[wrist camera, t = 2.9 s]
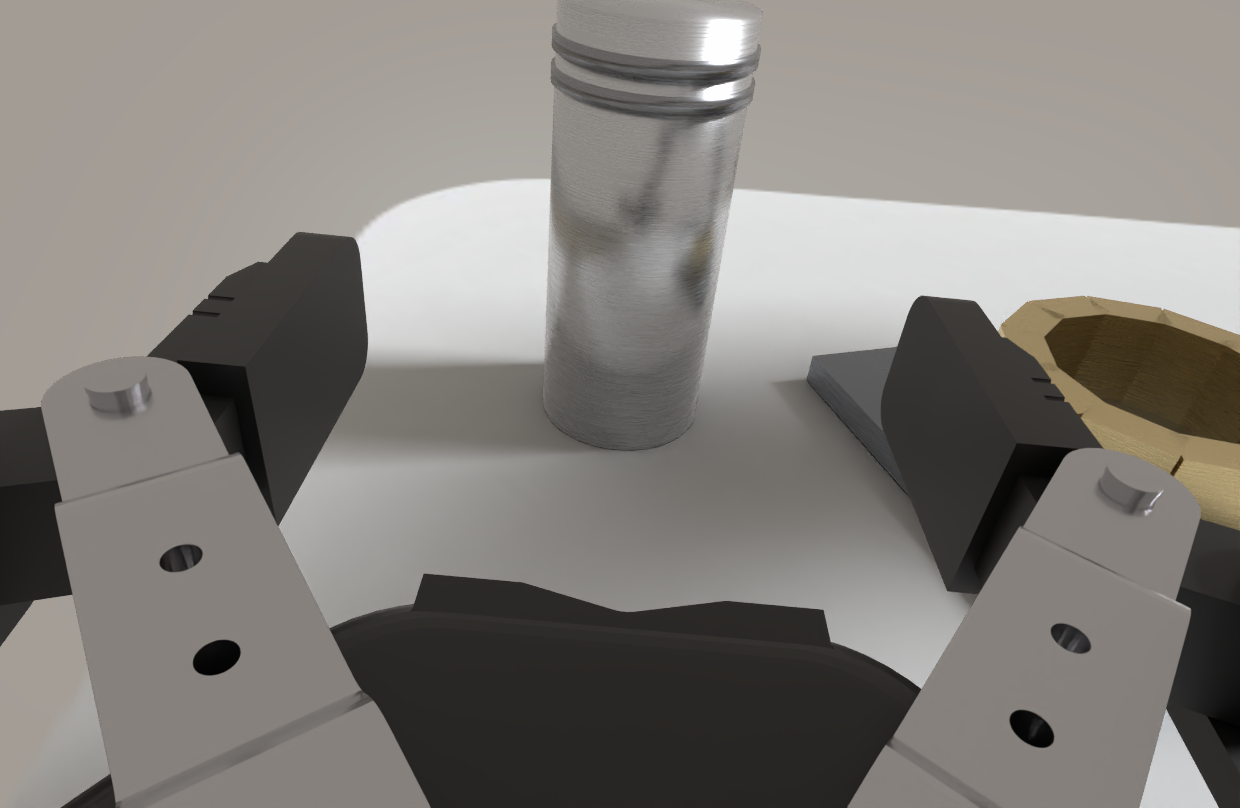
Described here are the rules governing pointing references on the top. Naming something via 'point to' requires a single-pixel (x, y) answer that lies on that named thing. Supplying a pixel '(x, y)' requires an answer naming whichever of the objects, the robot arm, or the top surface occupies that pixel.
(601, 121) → the piston
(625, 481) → the top surface
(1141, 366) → the ring base
